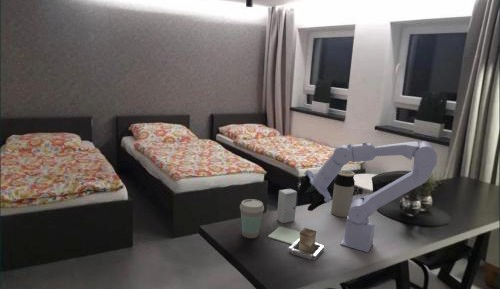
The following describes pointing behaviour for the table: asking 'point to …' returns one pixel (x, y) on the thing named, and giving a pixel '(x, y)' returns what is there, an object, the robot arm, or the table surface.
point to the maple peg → (307, 240)
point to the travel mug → (343, 193)
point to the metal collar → (304, 254)
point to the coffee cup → (251, 217)
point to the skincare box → (286, 205)
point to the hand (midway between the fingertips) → (304, 202)
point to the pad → (285, 235)
